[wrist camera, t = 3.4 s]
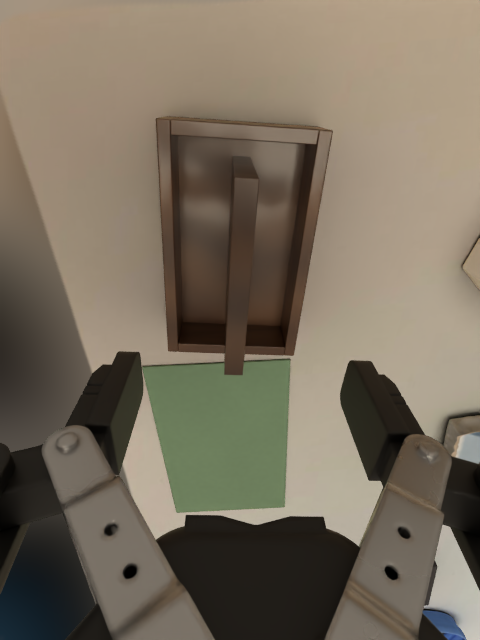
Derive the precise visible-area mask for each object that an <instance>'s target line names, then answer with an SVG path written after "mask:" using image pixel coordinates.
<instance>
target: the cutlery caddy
mask: <svg viewBox="0 0 480 640" xmlns="http://www.w3.org/2000/svg"><path fill="white" fill-rule="evenodd" d="M156 131H157V150H158V169H159V188H160V206H161V225H162V244H163V263H164V282H165V301H166V320H167V338H168V351H175V352H177V351H179V352H200V353H225V359H224V375H243V367H244V355H245V354H258V355H290V356H293V355H294V351H295V345H296V339H297V333H298V328H299V322H300V316H301V311H302V305H303V299H304V293H305V288H306V282H307V276H308V271H309V265H310V259H311V253H312V248H313V242H314V236H315V230H316V225H317V219H318V213H319V208H320V202H321V196H322V190H323V185H324V179H325V173H326V168H327V162H328V156H329V150H330V145H331V139H332V133H333V131H332V130H329V129H324V128H320V127H314V126H299V125H285V124H271V123H257V122H242V121H228V120H214V119H200V118H185V117H171V116H166V117H161V118H156Z"/></svg>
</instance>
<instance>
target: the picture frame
mask: <svg viewBox="0 0 480 640" xmlns="http://www.w3.org/2000/svg"><path fill="white" fill-rule="evenodd" d="M443 446H444V447H445V448H446V449H447V450H448V452H449V454H450V456H453V457H456V458H460V459H463V460H467V461H470V462H474V463H477V464H479V463H480V415H477V416H467V417H462V418H456V419H450V420H449V423H448V426H447V431H446V436H445V441H444V445H443Z"/></svg>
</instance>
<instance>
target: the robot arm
mask: <svg viewBox="0 0 480 640" xmlns="http://www.w3.org/2000/svg"><path fill="white" fill-rule="evenodd" d="M142 396H143V376H142V367H141V357H140V353H139V352H120V351H119V352H118V353H117V355H116V357H115V359H114V361H113V363H112V365H104V364H103V365H102V366H101V367H99V368H98V369H97V370H96V371H95V372H94V373H92V376H91V377H90V379H89V381H88V383H87V386H86V387H85V389H84V391H83V395H81V397H80V399H79V401H78V403H77V405H76V406H75V408H74V410H73V412H72V414H71V416H70V418H69V420H68V422H67V424H66V426H65V427H64V428H61V429H59V430H57V431H55V432H54V433H52V434H51V435H50V436H49V437H48V438H47V439H46V441H45V442H44V444H42V445H40V446H36V447H32V448H28V449H24V450H19V451H15V452H11V453H10V451H9V448H8V447H7V446H6V445H4V444H2V443H0V593H1V591H2V588H3V586H4V584H5V581H6V579H7V577H8V574H9V572H10V570H11V567H12V564H13V562H14V560H15V558H16V555H17V553H18V550H19V548H20V546H21V543H22V541H23V538H24V536H25V534H26V531H27V529H28V526H29V524H30V522H33V521H37V520H40V519H43V518H47V517H50V516H54V515H57V514H61V513H63V516H64V519H65V521H66V524H67V527H68V529H69V532H70V534H71V537H72V540H73V543H74V545H75V548H76V551H77V553H78V556H79V559H80V562H81V564H82V567H83V570H84V572H85V575H86V578H87V581H88V584H89V586H90V589H91V592H92V595H93V597H94V600H95V603H96V606H95V607H94V608H93V609H92V610H91V611H90V612H89V613H88V615H87V616H86V617H85V618H84V619H83V620H82V621H81V622H80V624H79V625H78V626H77V627H76V628H75V629H74V631H73V632H72V633H71V634H70V635H69V636H68V637H67V638H66V640H448V639H447V638H446V637H445V636H444V635H443V634H442V633H441V632H440V631H439V630H438V629H437V627H436V626H435V625H434V624H433V623H432V622H431V621H430V620H429V619H428V618H427V617H426V616H425V615H424V614H423V608H424V604H425V599H426V595H427V591H428V586H429V582H430V577H431V573H432V568H433V564H434V559H435V555H436V550H437V546H438V542H439V537H440V533H441V528H442V524H443V525H446V526H449V527H451V529H452V532H453V534H454V536H455V538H456V540H457V542H458V545H459V547H460V549H461V551H462V553H463V555H464V558H465V560H466V562H467V564H468V566H469V568H470V571H471V573H472V575H473V577H474V579H475V581H476V584H477V586H478V588H479V590H480V463H479V464H477V463H474V462H470V461H467V460H463V459H460V458H456V457H453V456H450V454H449V452H448V450H447V449H446V448H445V447H444V446H443V445H442V444H441V443H440V442H438V441H437V440H435V439H433V438H431V437H429V436H426V435H425V434H424V432H423V431H422V429H421V427H420V426H419V424H418V422H417V421H416V419H415V417H414V415H413V414H412V412H411V410H410V409H409V407H408V405H406V402H405V400H404V398H403V397H402V396H401V393H400V392H399V390H398V388H397V387H396V385H395V384H394V383H393V382H392V381H391V380H390V379H389V378H388V377H386V376H385V375H379V374H378V372H377V371H376V369H375V367H374V365H373V363H372V362H371V361H354V360H351V361H350V362H349V363H348V366H347V370H346V373H345V377H344V381H343V384H342V388H341V393H340V401H341V406H342V409H343V412H344V414H345V417H346V420H347V423H348V425H349V428H350V431H351V433H352V436H353V439H354V442H355V444H356V447H357V450H358V452H359V455H360V458H361V461H362V463H363V466H364V469H365V472H366V474H367V477H368V480H369V481H381V482H382V485H383V489H382V492H381V494H380V496H379V499H378V501H377V504H376V506H375V508H374V511H373V513H372V516H371V518H370V521H369V523H368V525H367V528H366V530H365V533H364V535H363V538H362V540H361V542H360V545H359V547H358V546H357V545H356V544H355V543H354V542H352V541H351V540H349V539H348V538H346V537H345V536H343V535H341V534H339V533H337V532H334V531H332V530H329V529H326V526H325V521H324V517H295V516H290V517H286V518H282V519H279V520H275V521H271V522H267V523H264V524H260V525H252V524H249V523H245V522H242V521H238V520H234V519H231V518H227V517H224V516H218V515H186V519H185V526H184V527H180V528H177V529H175V530H172V531H170V532H168V533H166V534H164V535H162V536H161V537H159V538H158V539H157V540H155V538H154V536H153V534H152V532H151V531H150V529H149V527H148V525H147V523H146V522H145V520H144V518H143V516H142V514H141V513H140V511H139V509H138V507H137V505H136V504H135V502H134V500H133V498H132V496H131V495H130V493H129V491H128V489H127V488H126V486H125V484H124V482H123V480H122V479H121V478H120V476H117V477H116V476H115V475H119V473H120V469H121V467H122V463H123V460H124V457H125V453H126V450H127V447H128V443H129V440H130V437H131V433H132V430H133V427H134V424H135V420H136V417H137V414H138V410H139V407H140V404H141V400H142Z"/></svg>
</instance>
